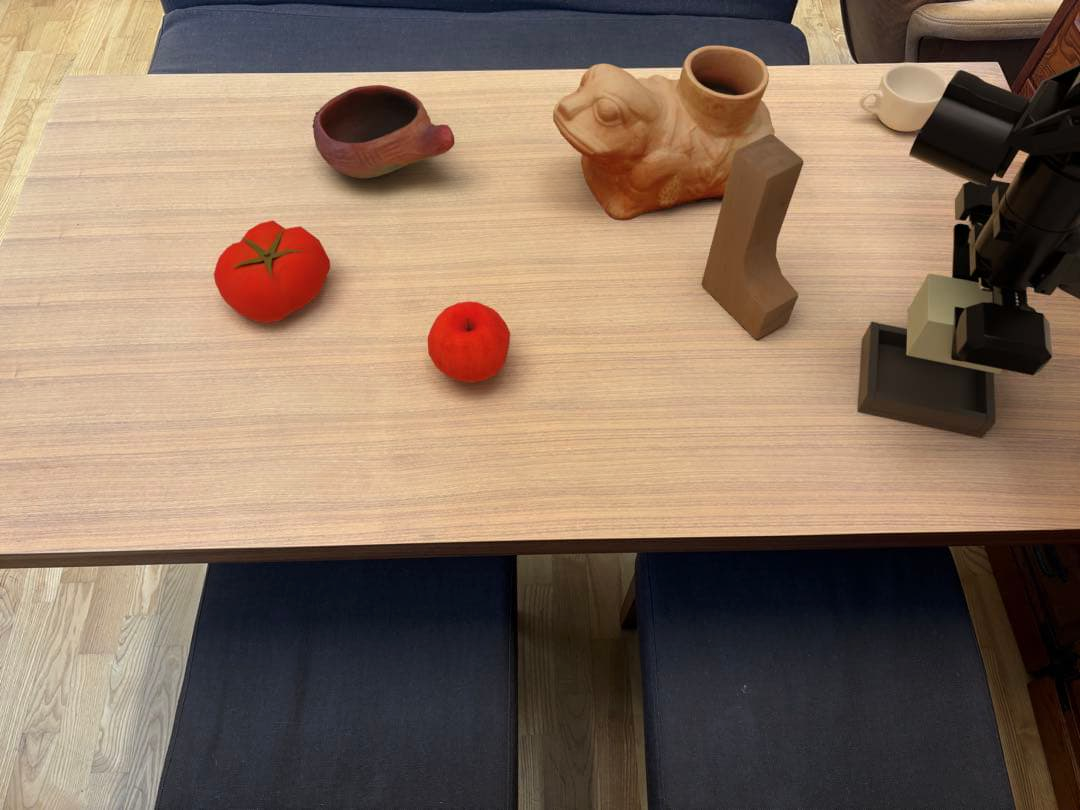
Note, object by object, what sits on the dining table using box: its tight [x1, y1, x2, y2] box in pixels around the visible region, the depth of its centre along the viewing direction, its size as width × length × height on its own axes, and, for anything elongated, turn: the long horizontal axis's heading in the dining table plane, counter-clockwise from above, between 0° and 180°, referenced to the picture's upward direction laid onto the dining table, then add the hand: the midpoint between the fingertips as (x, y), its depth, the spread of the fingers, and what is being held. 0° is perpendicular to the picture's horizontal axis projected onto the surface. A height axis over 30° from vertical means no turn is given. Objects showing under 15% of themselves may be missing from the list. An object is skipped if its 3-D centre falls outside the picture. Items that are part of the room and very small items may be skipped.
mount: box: [856, 321, 997, 439], centre depth 82 cm, size 12×9×3 cm
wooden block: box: [701, 134, 805, 340], centre depth 81 cm, size 9×4×18 cm, turn 33°
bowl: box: [312, 84, 455, 179], centre depth 96 cm, size 16×13×8 cm
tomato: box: [213, 219, 331, 323], centre depth 86 cm, size 10×11×6 cm
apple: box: [427, 300, 511, 383], centre depth 81 cm, size 8×8×7 cm
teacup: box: [859, 62, 950, 133], centre depth 102 cm, size 10×8×5 cm
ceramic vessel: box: [552, 45, 776, 221], centre depth 93 cm, size 14×26×15 cm, turn 108°
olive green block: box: [906, 272, 1004, 375], centre depth 75 cm, size 8×6×5 cm
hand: (956, 334), depth 76 cm, fingers closed on olive green block, 5 cm apart
